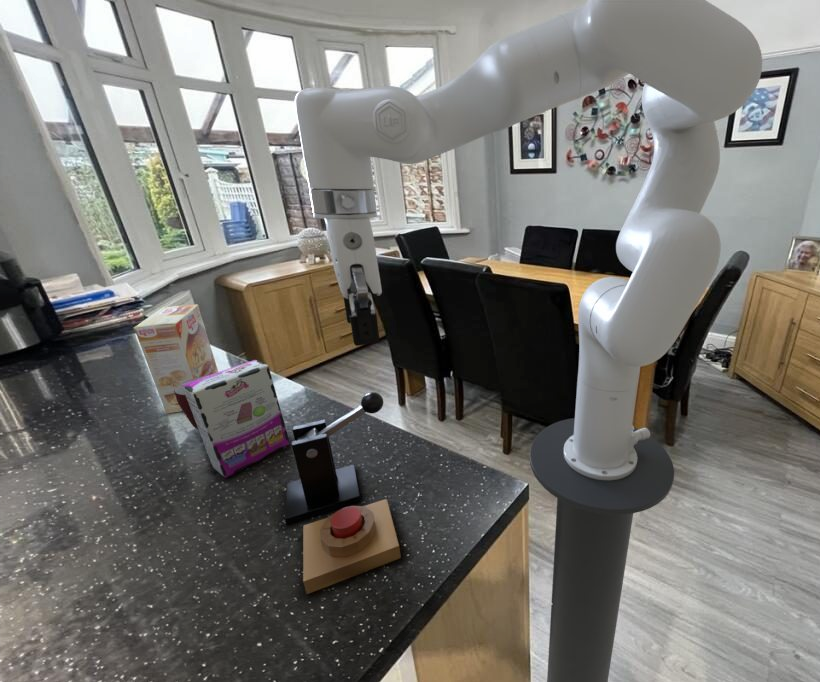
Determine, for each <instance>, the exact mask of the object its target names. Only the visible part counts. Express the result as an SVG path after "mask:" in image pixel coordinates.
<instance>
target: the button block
mask: <svg viewBox="0 0 820 682" xmlns="http://www.w3.org/2000/svg"><path fill="white" fill-rule="evenodd" d="M349 507H356V508H358V509H359V510H360V512H361V516H362V521H363V525H362V528H361V529H360V531H359V532H358V533H356V534H355V535H354V536H351V537H348V538H344V539H341V538H337V537H336V536H335V535H334V534H333V530H332V526H331V519H332V517H333V515H334V514H335V513H336V512H337V511H339V510H340V509H337V511H335V512H334V513H332V514H331V515H330V516H328V517H324V518H322V519H319V520H316V521H313V522H310V523H307V524H304V525H303V526H302V535H303V536H302V582H303V586H304V590H305V593H306V595H309V594H311V593H314V592H316V591H319V590H321V589H324V588H327V587H330V586H332V585H334V584H335V585H336V584H337V583H340V582H343V581H345V580H348V579H350V578H353V577H355V576H358V575H360V574H363V573H366V572H369V571H371V570H374V569H376V568H379V567H381V566H384V565H386V564H389V563H391V562H394V561H397V560H399V559H401V558H402V556H401V555H402V554H401V550H400V543H399V540H398V537H397V532H396V528H395V525H394V521H393V517H392V513H391V510H390V506H389V502H388V499H387V498H384V499H382V500H378V501H375V502H372V503H369V504H366V505H349Z"/></svg>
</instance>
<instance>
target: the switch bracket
mask: <svg viewBox="0 0 820 682" xmlns="http://www.w3.org/2000/svg"><path fill="white" fill-rule="evenodd" d="M327 426H328V425H327V423H326V419H321V420H316V421H313V422H308V423H303V424H299V425H295V426H292V428H291V429H292V434H293V438H294V440H293V441H291V448H292V453H293V456H294V460H295V464H296V468H297V472H298V476H299V479H296V480H293V481H290V482H287V483H286V490H285V491H286V494H285V511H284V513H285V514H284V520H285V524H286V526H290V525H292V524H295V523H298V522H302V521H305V520H308V519H311V518H314V517H318V516H321V515H324V514H327V513H331V512H333V511H338V510H341V509H343V508H345V507H350V506H353V505H356V504H359V503H361V502H362V500H361V495H360V488H359V484H358V478H357V472H356V467H355V464H350V465H346V466H344V467H340V468H337V469H336V464H335V460H334V456H333V451H332V445H331V441H330V436H329V437H327V434H322V435H318V436H314V437H309V438H305V439H301V440H298V438H299V437H301V436H302V435H304V434H306V433H307V432H309V431H310V430H312V429H313V428H316V429H317V430H318V431H319V432H320V431H321V430H323V429H324V428H326V427H327Z"/></svg>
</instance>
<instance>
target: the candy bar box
mask: <svg viewBox="0 0 820 682" xmlns="http://www.w3.org/2000/svg"><path fill="white" fill-rule="evenodd" d="M182 387H183V390H184V393H185V395H186V398H187V400H188V403H189V405H190V408H191V411H192V413H193V416H194V419H195V421H196V424H197V427H198V429H199V430H198V429H197V430H198V432H199V435H200V437H201V439H202V442H203V445H204V448H205V450H206V453H207V455H208V458H209V461H210V464H211V466H212V469H214V470H215V471H216V472H218V473H219V474H220V475H221V476H222V477H224V478H225V479H226V478H229V477H231V476H233V475H235V474H237V473H238V472H240V471H242V470H244V469H246V468H248V467H249V466H252V465H253V464H255V463H257V462H259V461H262V460H263V459H264V458H266V457H268V456H270V455H272V454H273V453H275V452H277V451H279V450H282V449H283V448H285V447H287V446H289V445H290V444H291V442H290V437H289V434H288V430H287V427H286V423H285V420H284V416H283V413H282V409H281V406H280V403H279V398H278V394H277V392H276V388H275V384H274V381H273V378H272V372H271V369H270V367H269V365H268V364H265V363H263V362H261V361H259V360H257V359H253V360H250V361H247V362H244V363H241V364H239V365H235V366H232V367H230V368H227V369H223V370H220V371H218V373H215V374H212V375H209V376H206V377H203V378H200V379H198V380H195V381H192V382H189V383H186V384H183V385H182Z"/></svg>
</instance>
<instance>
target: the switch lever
mask: <svg viewBox="0 0 820 682" xmlns="http://www.w3.org/2000/svg"><path fill="white" fill-rule="evenodd" d="M383 406H384V398H383V396H382V395H381V394H380V393H378V392H376V391H370V392H367V393H366V394H364V395H363V397H362V398H361V400H360V405H358V406H357V407H355V408H354V409H352V410H351V411H349V412H347V413H345V415H343V416H341V417H340V418H338V419H336V420H335V421H333V422H332V423H330V424H329V425H326V426H327V427H326V428H324V429H323V430H321V431H320V432H319V431H318V430H317V429H316V428H313V429H312V430H310V431H309V432H307V433H306V434H304V435H302V436H301V437H299V438H298V440H301V439H305V438H309V437H314V436H318V435H322V434H327V437H329V438H330V436H332V435H333V434H335V433H336V432H338V431H340V430H341V429H343V428H345V427H346V426H347V425H349V424H351V423H352V422H353V421H355V420H357V419H358V418H360V417H361V416H362V415H364V414H367V413H368V414H376V413H378V412H380V411H381V410H382V409H383Z"/></svg>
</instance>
